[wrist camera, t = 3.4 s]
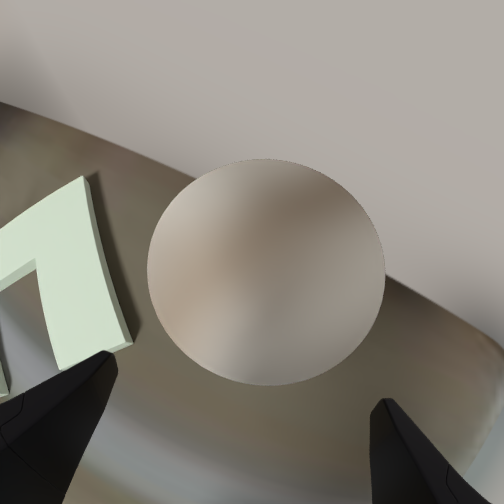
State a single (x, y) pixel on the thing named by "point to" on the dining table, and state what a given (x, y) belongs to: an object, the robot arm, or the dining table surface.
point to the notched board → (65, 274)
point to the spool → (266, 272)
